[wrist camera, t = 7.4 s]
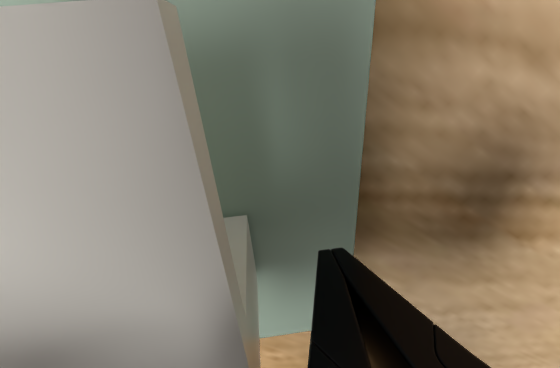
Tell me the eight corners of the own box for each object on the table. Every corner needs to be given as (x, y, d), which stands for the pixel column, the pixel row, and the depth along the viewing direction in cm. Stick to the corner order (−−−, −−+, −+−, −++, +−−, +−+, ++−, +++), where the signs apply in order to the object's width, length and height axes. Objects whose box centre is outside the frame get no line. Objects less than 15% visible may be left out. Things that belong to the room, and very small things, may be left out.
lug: (257, 276, 10) (262, 420, 6) (154, 290, 10) (93, 449, 6) (215, 27, 6) (155, -6, 2) (40, 41, 6) (-380, 34, 2)
